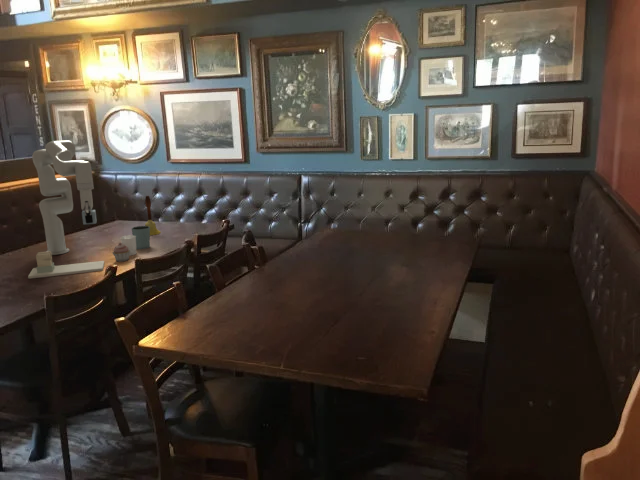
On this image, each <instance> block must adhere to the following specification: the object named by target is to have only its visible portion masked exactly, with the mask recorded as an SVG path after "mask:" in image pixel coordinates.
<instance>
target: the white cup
mask: <svg viewBox="0 0 640 480" xmlns="http://www.w3.org/2000/svg"><path fill="white" fill-rule="evenodd" d="M120 241H121V242H120V243H123V244H125V245H126V246H127V247H128V250H130V254H129V257H130V256H135V255H137V249H136V236H133V234H132V235H124V236H121V237H120Z"/></svg>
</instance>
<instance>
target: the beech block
mask: <svg viewBox="0 0 640 480" xmlns="http://www.w3.org/2000/svg"><path fill="white" fill-rule="evenodd" d="M35 258H36V263H37V266H38V267H43V266H51V265H52V263H53V255H51V251H48V252H46V251H40V252H39V251H38V252H37V253H36V255H35Z"/></svg>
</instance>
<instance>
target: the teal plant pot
mask: <svg viewBox="0 0 640 480" xmlns="http://www.w3.org/2000/svg"><path fill="white" fill-rule="evenodd" d="M131 233H132V235H133V236H136V250H144V249H149V248H150V247H151V241H150V240H151V238H150V237H151V235H150V227H149V226H145V225H137V226H133V227H131ZM149 235H150V236H149Z"/></svg>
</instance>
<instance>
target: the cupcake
mask: <svg viewBox="0 0 640 480" xmlns="http://www.w3.org/2000/svg"><path fill="white" fill-rule="evenodd" d="M111 254H112V255H113V256H114V259H115V261H116V262H118V263H119V262H121V263H122V262H127V261H129V258H130V256H129V254H130V250H128V247H127V246H126V245H125V244H123V243H122V242H118V244H117V245H115V246H114V247H113V250H112V253H111Z"/></svg>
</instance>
